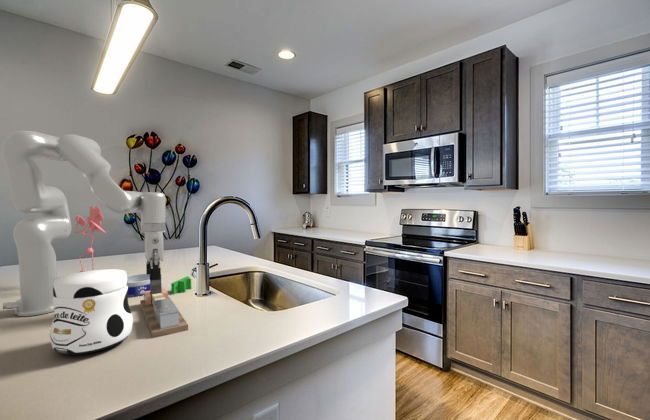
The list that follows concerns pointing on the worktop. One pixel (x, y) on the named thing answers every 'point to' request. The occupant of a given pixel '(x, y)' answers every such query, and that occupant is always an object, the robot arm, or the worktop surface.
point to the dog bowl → (138, 284)
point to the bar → (156, 290)
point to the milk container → (90, 311)
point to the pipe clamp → (181, 285)
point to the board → (153, 322)
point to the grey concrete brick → (166, 313)
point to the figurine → (93, 222)
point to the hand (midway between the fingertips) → (153, 276)
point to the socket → (148, 296)
